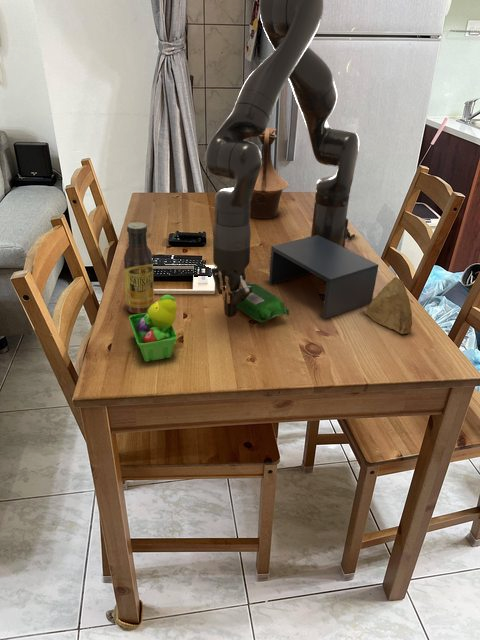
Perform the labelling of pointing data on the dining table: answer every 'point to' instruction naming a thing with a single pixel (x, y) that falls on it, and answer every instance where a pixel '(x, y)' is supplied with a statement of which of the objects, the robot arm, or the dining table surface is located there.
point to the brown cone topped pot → (267, 182)
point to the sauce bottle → (138, 270)
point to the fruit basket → (156, 329)
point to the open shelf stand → (326, 271)
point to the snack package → (262, 304)
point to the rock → (392, 307)
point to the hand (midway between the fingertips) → (230, 315)
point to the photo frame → (199, 283)
